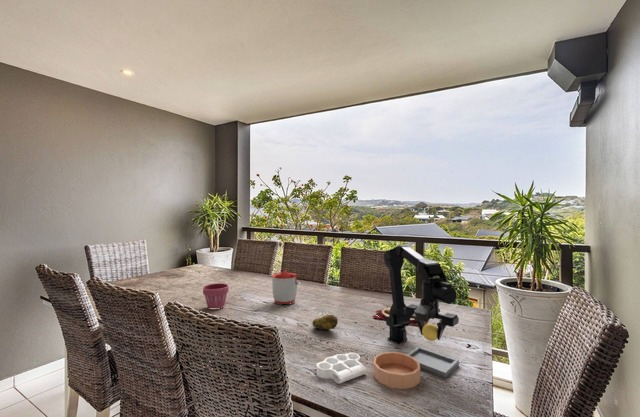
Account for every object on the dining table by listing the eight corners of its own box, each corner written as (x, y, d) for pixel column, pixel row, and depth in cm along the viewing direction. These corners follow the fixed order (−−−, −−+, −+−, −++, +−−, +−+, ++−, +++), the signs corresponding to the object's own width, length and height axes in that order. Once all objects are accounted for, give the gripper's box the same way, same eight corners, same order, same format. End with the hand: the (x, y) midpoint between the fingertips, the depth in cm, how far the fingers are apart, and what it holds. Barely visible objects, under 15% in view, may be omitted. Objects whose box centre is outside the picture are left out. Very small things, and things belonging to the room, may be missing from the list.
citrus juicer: (299, 306, 182) (299, 273, 182) (269, 306, 182) (269, 273, 182) (301, 298, 197) (301, 267, 197) (274, 298, 198) (274, 267, 198)
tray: (403, 362, 116) (403, 356, 116) (418, 351, 125) (418, 346, 125) (445, 378, 105) (445, 372, 105) (458, 365, 114) (458, 360, 114)
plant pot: (212, 313, 171) (212, 290, 171) (198, 308, 179) (198, 286, 179) (233, 306, 182) (233, 285, 182) (219, 302, 190) (219, 281, 190)
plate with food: (424, 329, 149) (424, 322, 149) (372, 318, 162) (372, 312, 162) (432, 314, 171) (432, 308, 171) (385, 306, 184) (385, 300, 184)
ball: (419, 340, 115) (419, 324, 115) (426, 335, 119) (426, 319, 119) (434, 345, 111) (434, 328, 111) (441, 340, 115) (441, 324, 115)
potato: (324, 324, 154) (324, 308, 154) (340, 332, 144) (340, 315, 144) (310, 328, 150) (310, 311, 149) (326, 337, 139) (326, 319, 139)
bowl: (364, 375, 107) (364, 362, 107) (389, 359, 118) (389, 348, 118) (405, 394, 96) (405, 380, 96) (427, 375, 107) (427, 362, 107)
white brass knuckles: (332, 389, 100) (309, 369, 112) (374, 373, 109) (349, 356, 122) (332, 379, 100) (309, 360, 112) (374, 364, 109) (349, 348, 122)
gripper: (397, 295, 116) (397, 336, 116) (446, 306, 103) (446, 353, 103) (411, 289, 124) (411, 328, 124) (459, 299, 111) (459, 342, 111)
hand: (430, 337), depth 115 cm, fingers closed on ball, 6 cm apart
